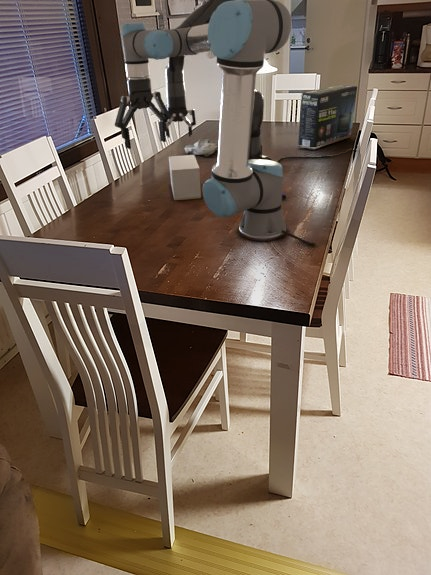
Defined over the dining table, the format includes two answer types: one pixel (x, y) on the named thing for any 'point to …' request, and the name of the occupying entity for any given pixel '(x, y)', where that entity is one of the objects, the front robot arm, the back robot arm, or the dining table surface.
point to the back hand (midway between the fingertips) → (179, 136)
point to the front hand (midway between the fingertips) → (146, 144)
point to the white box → (185, 177)
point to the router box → (326, 115)
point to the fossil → (202, 147)
